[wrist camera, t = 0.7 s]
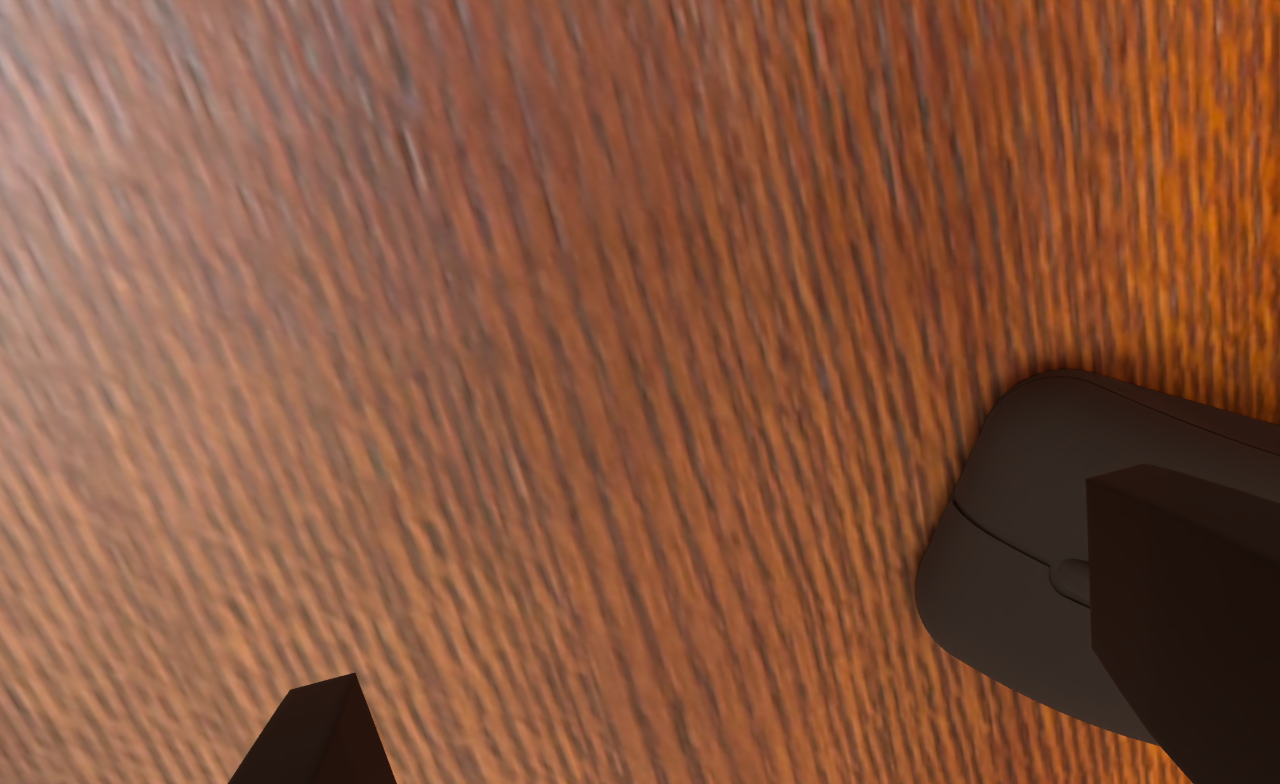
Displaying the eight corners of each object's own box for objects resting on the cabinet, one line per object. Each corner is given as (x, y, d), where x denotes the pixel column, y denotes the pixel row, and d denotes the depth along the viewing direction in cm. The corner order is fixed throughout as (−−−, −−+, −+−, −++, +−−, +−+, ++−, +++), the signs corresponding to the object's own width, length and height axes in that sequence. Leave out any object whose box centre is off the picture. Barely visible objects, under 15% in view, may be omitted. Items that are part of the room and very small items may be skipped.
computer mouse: (1006, 346, 21) (1121, 432, 18) (1446, 471, 24) (1621, 567, 21) (883, 618, 23) (962, 745, 20) (1301, 703, 26) (1439, 828, 23)
